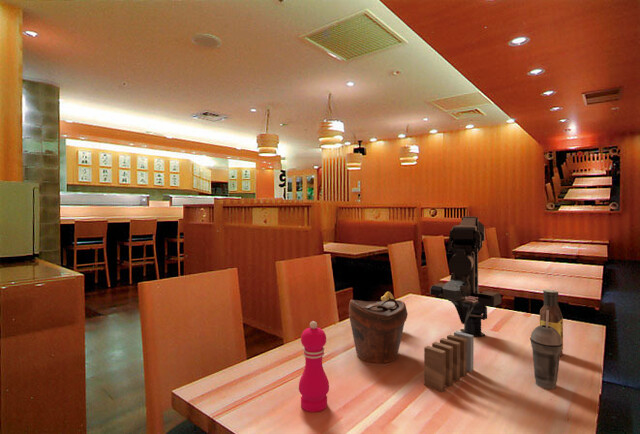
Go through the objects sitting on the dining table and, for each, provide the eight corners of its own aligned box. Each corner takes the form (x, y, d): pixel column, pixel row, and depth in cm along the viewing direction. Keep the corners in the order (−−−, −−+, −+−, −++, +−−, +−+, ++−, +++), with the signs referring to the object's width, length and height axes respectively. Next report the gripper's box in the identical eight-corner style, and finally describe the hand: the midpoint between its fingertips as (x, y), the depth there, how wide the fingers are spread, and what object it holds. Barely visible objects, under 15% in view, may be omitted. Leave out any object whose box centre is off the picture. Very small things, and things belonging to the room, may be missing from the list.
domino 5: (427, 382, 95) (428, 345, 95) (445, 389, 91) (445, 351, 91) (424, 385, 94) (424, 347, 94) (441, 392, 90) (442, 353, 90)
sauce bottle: (566, 358, 110) (567, 293, 109) (544, 356, 111) (545, 293, 111) (557, 349, 116) (557, 289, 116) (536, 348, 118) (536, 288, 117)
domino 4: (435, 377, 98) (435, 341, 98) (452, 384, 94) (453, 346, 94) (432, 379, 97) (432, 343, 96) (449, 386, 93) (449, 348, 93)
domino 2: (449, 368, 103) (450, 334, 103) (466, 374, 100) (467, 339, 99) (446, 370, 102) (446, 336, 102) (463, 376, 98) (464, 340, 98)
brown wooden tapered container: (419, 352, 115) (418, 296, 114) (385, 374, 100) (384, 310, 100) (373, 339, 127) (372, 289, 126) (336, 357, 112) (335, 300, 112)
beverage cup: (557, 380, 96) (558, 306, 95) (566, 394, 89) (567, 314, 88) (526, 376, 98) (527, 304, 98) (533, 389, 91) (533, 311, 91)
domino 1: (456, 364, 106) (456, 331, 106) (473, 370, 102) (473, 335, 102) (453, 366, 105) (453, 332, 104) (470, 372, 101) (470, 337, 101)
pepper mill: (298, 397, 88) (297, 317, 88) (327, 396, 89) (327, 316, 88) (299, 414, 81) (298, 327, 80) (330, 412, 82) (330, 326, 81)
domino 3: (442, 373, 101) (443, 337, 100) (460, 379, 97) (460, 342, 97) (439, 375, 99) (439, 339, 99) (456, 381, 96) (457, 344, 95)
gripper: (419, 269, 104) (419, 322, 105) (485, 278, 90) (484, 339, 91) (439, 264, 112) (439, 314, 112) (502, 272, 98) (501, 329, 98)
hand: (463, 323), depth 103 cm, fingers closed
